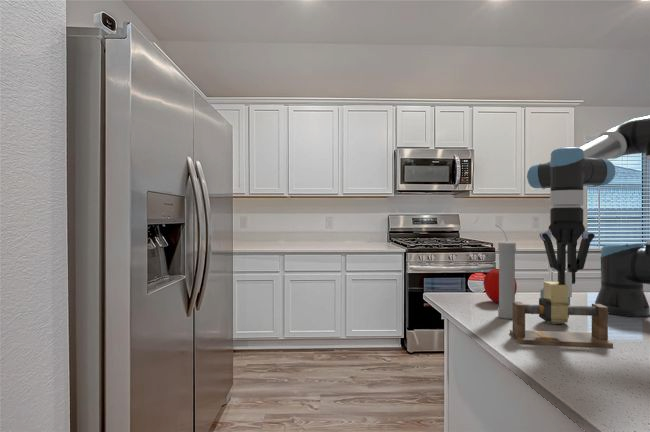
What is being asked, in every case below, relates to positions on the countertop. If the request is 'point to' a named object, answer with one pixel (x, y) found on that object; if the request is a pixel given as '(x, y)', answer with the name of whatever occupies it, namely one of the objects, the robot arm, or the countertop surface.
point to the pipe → (506, 278)
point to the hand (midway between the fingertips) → (566, 295)
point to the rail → (562, 338)
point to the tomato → (493, 285)
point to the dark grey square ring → (547, 309)
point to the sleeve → (557, 300)
